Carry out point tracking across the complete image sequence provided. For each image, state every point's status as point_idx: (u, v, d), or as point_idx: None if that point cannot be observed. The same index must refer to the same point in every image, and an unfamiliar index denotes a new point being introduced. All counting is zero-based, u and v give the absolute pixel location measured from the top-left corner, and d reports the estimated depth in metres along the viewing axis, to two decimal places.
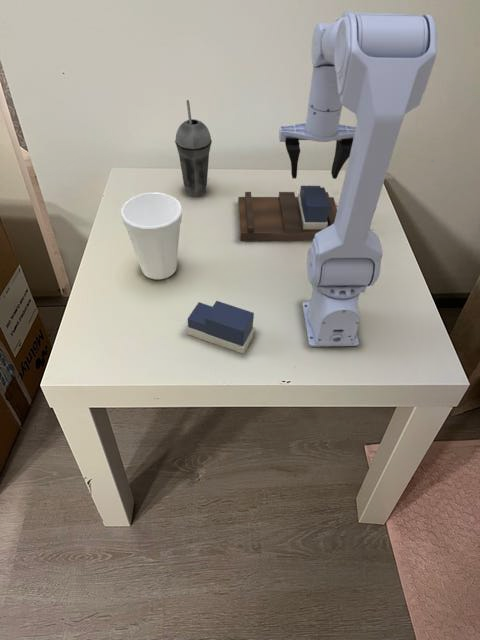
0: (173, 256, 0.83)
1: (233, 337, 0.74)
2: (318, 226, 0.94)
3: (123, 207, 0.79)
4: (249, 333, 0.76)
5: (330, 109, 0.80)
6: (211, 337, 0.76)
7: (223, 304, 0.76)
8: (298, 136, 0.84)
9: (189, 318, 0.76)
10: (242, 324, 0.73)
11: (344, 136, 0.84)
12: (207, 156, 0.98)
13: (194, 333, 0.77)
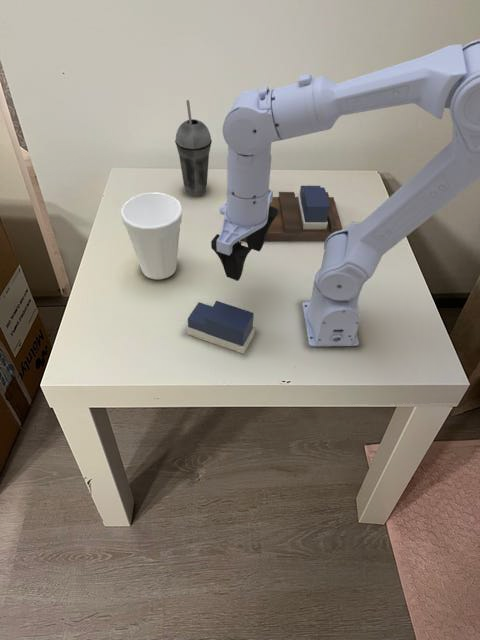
0: (173, 256, 0.83)
1: (233, 337, 0.74)
2: (318, 226, 0.94)
3: (123, 207, 0.79)
4: (249, 333, 0.76)
5: (268, 186, 0.65)
6: (211, 337, 0.76)
7: (223, 304, 0.76)
8: (244, 236, 0.66)
9: (189, 318, 0.76)
10: (242, 324, 0.73)
11: None
12: (207, 156, 0.98)
13: (194, 333, 0.77)
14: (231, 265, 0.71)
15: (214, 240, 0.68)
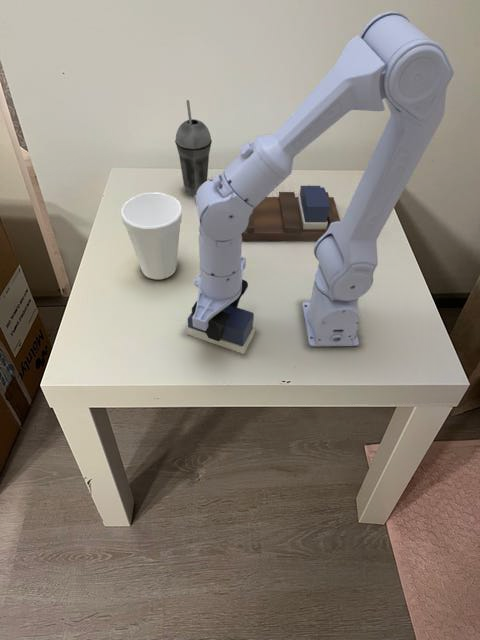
0: (173, 256, 0.83)
1: (233, 337, 0.74)
2: (318, 226, 0.94)
3: (123, 207, 0.79)
4: (249, 333, 0.76)
5: None
6: None
7: None
8: (219, 310, 0.68)
9: (189, 318, 0.76)
10: (242, 324, 0.73)
11: (242, 274, 0.73)
12: (207, 156, 0.98)
13: (194, 333, 0.77)
14: (212, 328, 0.73)
15: (194, 307, 0.70)
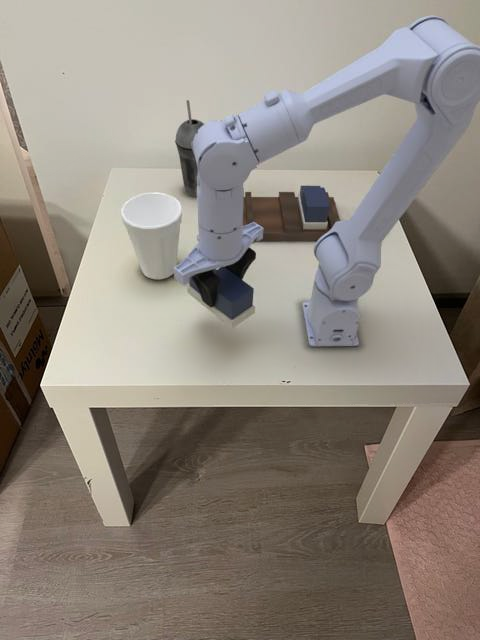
0: (173, 256, 0.83)
1: (224, 307, 0.68)
2: (318, 226, 0.94)
3: (123, 207, 0.79)
4: (245, 309, 0.70)
5: None
6: None
7: (227, 271, 0.70)
8: (205, 270, 0.63)
9: None
10: (234, 296, 0.67)
11: (250, 243, 0.66)
12: None
13: (193, 294, 0.73)
14: (204, 290, 0.68)
15: None
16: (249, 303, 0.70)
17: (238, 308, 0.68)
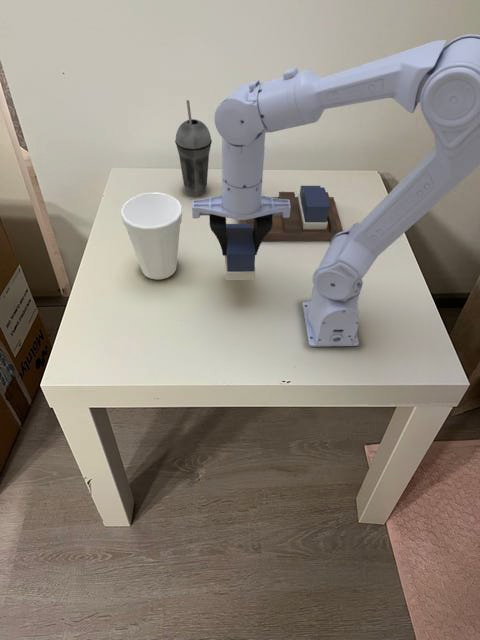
0: (173, 256, 0.83)
1: None
2: (318, 226, 0.94)
3: (123, 207, 0.79)
4: (244, 270, 0.75)
5: (261, 178, 0.68)
6: None
7: (250, 232, 0.76)
8: (213, 213, 0.71)
9: (227, 224, 0.80)
10: (235, 250, 0.73)
11: (268, 212, 0.71)
12: (207, 156, 0.98)
13: None
14: None
15: None
16: (249, 266, 0.75)
17: (235, 264, 0.74)
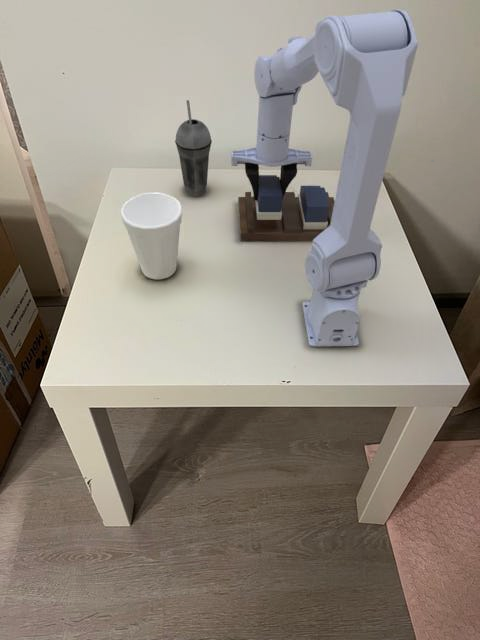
0: (173, 256, 0.83)
1: (258, 200, 0.91)
2: (318, 226, 0.94)
3: (123, 207, 0.79)
4: (273, 211, 0.91)
5: (282, 135, 0.82)
6: None
7: (278, 180, 0.92)
8: (249, 161, 0.86)
9: None
10: (265, 193, 0.89)
11: (293, 161, 0.86)
12: (207, 156, 0.98)
13: None
14: None
15: None
16: (277, 207, 0.90)
17: (265, 205, 0.90)
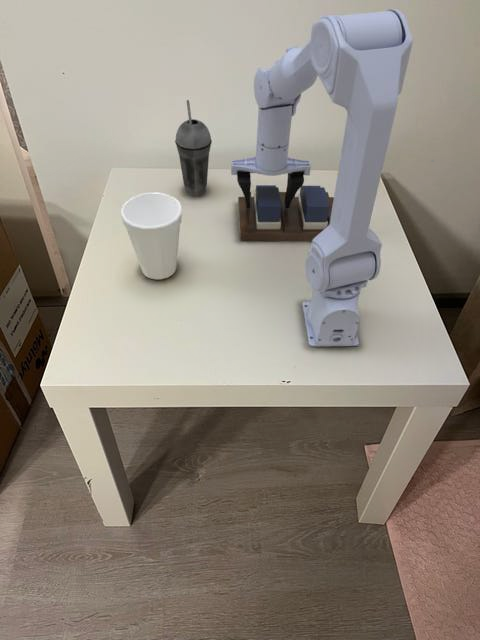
0: (173, 256, 0.83)
1: (257, 210, 0.93)
2: (318, 226, 0.94)
3: (123, 207, 0.79)
4: (272, 221, 0.93)
5: (281, 145, 0.83)
6: (255, 206, 0.96)
7: (277, 191, 0.94)
8: (248, 170, 0.88)
9: (257, 185, 0.97)
10: (265, 204, 0.91)
11: (292, 170, 0.88)
12: (207, 156, 0.98)
13: (254, 200, 0.99)
14: None
15: None
16: (276, 217, 0.92)
17: (264, 215, 0.92)
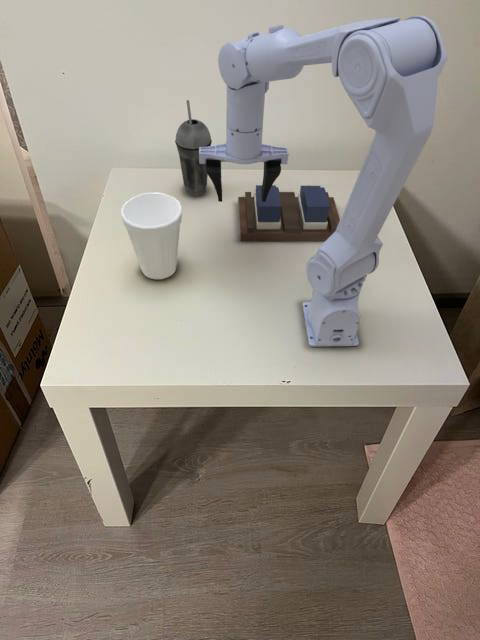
0: (173, 256, 0.83)
1: (257, 210, 0.93)
2: (318, 226, 0.94)
3: (123, 207, 0.79)
4: (272, 221, 0.93)
5: (257, 128, 0.74)
6: (255, 206, 0.96)
7: (277, 191, 0.94)
8: (218, 158, 0.78)
9: (257, 185, 0.97)
10: (265, 204, 0.91)
11: (268, 158, 0.78)
12: None
13: (254, 200, 0.99)
14: None
15: None
16: (276, 217, 0.92)
17: (264, 215, 0.92)
